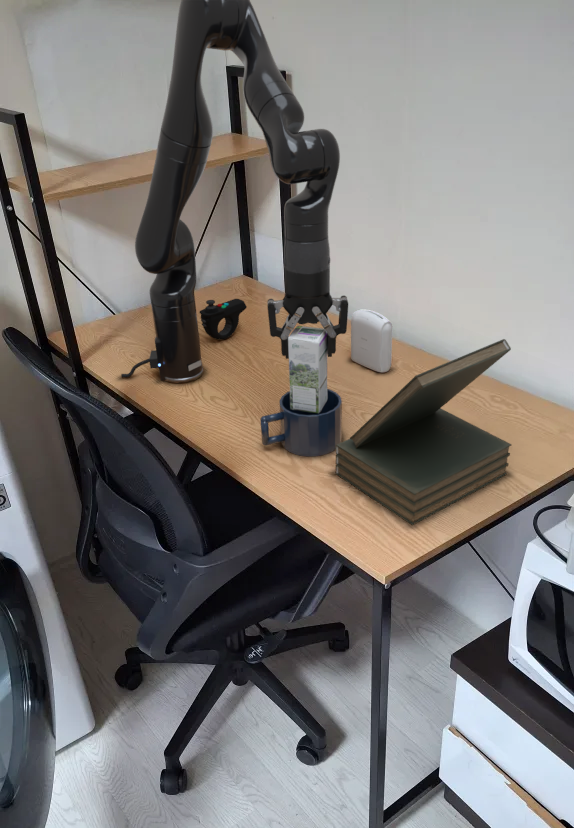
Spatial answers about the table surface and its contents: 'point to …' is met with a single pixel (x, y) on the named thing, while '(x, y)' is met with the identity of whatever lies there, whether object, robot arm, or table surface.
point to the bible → (425, 444)
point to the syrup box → (308, 369)
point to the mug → (306, 427)
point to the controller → (217, 313)
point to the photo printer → (371, 340)
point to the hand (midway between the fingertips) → (308, 355)
